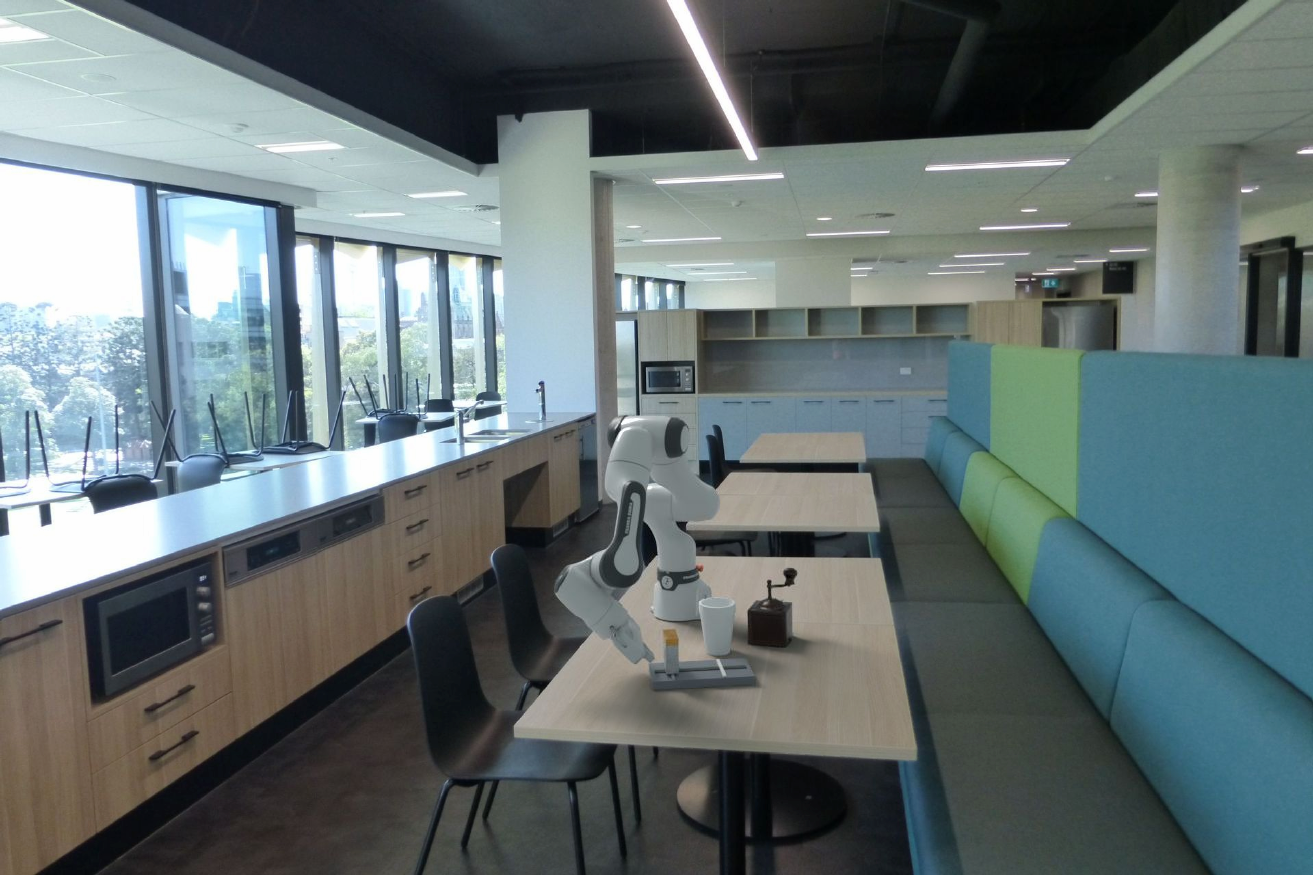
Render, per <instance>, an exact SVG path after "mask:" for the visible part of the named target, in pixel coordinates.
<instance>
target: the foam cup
mask: <svg viewBox="0 0 1313 875" xmlns="http://www.w3.org/2000/svg"><path fill="white" fill-rule="evenodd" d="M736 610H737V607H736V601H735V600H734V599H731V598H727V597H718V596H717V597H716V596H715V597H712V598H706V599H702V600H701V601H699V613H700V616H701V619H700V620H701V621H700V623H701V628H702V635H703V642H704V643H703V644H704V649H705V653H706V654H708V655H710V656H717V657H718V656H719V657H720V656H725V655H728V654H730V652H731V646H732V641H733V640H732V638H733V630H734V622H735V614H736Z"/></svg>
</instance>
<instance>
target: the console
mask: <svg viewBox="0 0 1313 875" xmlns="http://www.w3.org/2000/svg"><path fill="white" fill-rule="evenodd" d="M648 674H649V677H650V684H651V688H652V691H662V690H675V689H676V690H679V689H694V688H695V689H696V688H699V689H700V688H714V687H715V688H716V687H733V686H747V685H748V686H749V685H756V676H755V674H754V672H753V670H752V668H751V666H750V664H749V663H748V660H747V659H746V657H744V658H743V657H741V658H726V659H724V658H723V659H722V658H721V659H719V658H717V659H709V660H708V659H705V660H702V659H701V660H690V661H688V660H685V661H683V660H682V661H679V673H678V674H666V671H665V667H664V662H651V663H649V662H648Z"/></svg>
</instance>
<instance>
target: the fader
mask: <svg viewBox="0 0 1313 875" xmlns="http://www.w3.org/2000/svg"><path fill="white" fill-rule="evenodd" d="M662 637H663V638H662V639H663V640H662V642H663V643H662V644H663V647H662V648H663V663H664V667H665V671H666V674H678V673H679V662H680V661H679V660H680V659H679V658H680V656H679V653H680V652H679V642H680V641H679V636H678V634H677V631H676V628H672V629H662Z"/></svg>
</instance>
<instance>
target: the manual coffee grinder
mask: <svg viewBox="0 0 1313 875" xmlns="http://www.w3.org/2000/svg"><path fill="white" fill-rule="evenodd" d="M782 575H783V576H784V578H785V581H784V583H782V584H772V579H767V580H766V588H767V598H764V599H761V600H759V599H757V600H755V601H754V602H753V603H752V605H751V606H750V607H749V608H748V609H747V612H746V614H747V644H748V645H751V646H762V647H772V648H787V646H788V645H789V644H790V643H791V641H792V640H793V639H794V638H793V635H794V634H793V633H794V632H793V602H790V601H784V599H782V600H780V599H778V598H776V597H772V589H774V588H776V589H777V588H784V587H789V588H790V587H791V586H792V585H796V583H795V579H796V577H797V576H798V571H797V570H796V569H795V568H793V567H786V568H784V569H783V571H782Z"/></svg>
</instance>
